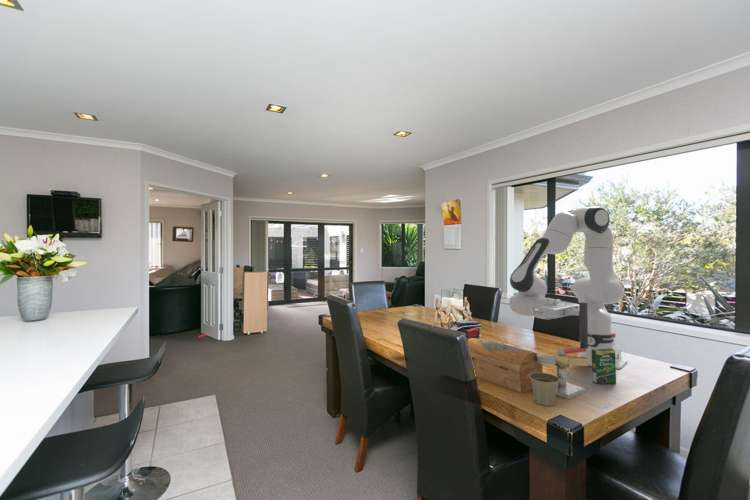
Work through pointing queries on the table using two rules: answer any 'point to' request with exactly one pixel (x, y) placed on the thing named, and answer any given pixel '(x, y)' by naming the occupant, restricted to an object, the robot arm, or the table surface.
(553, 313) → the robot arm
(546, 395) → the flower pot
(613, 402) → the table surface
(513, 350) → the wooden box
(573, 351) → the valve lever
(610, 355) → the coffee box
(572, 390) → the standpipe valve
